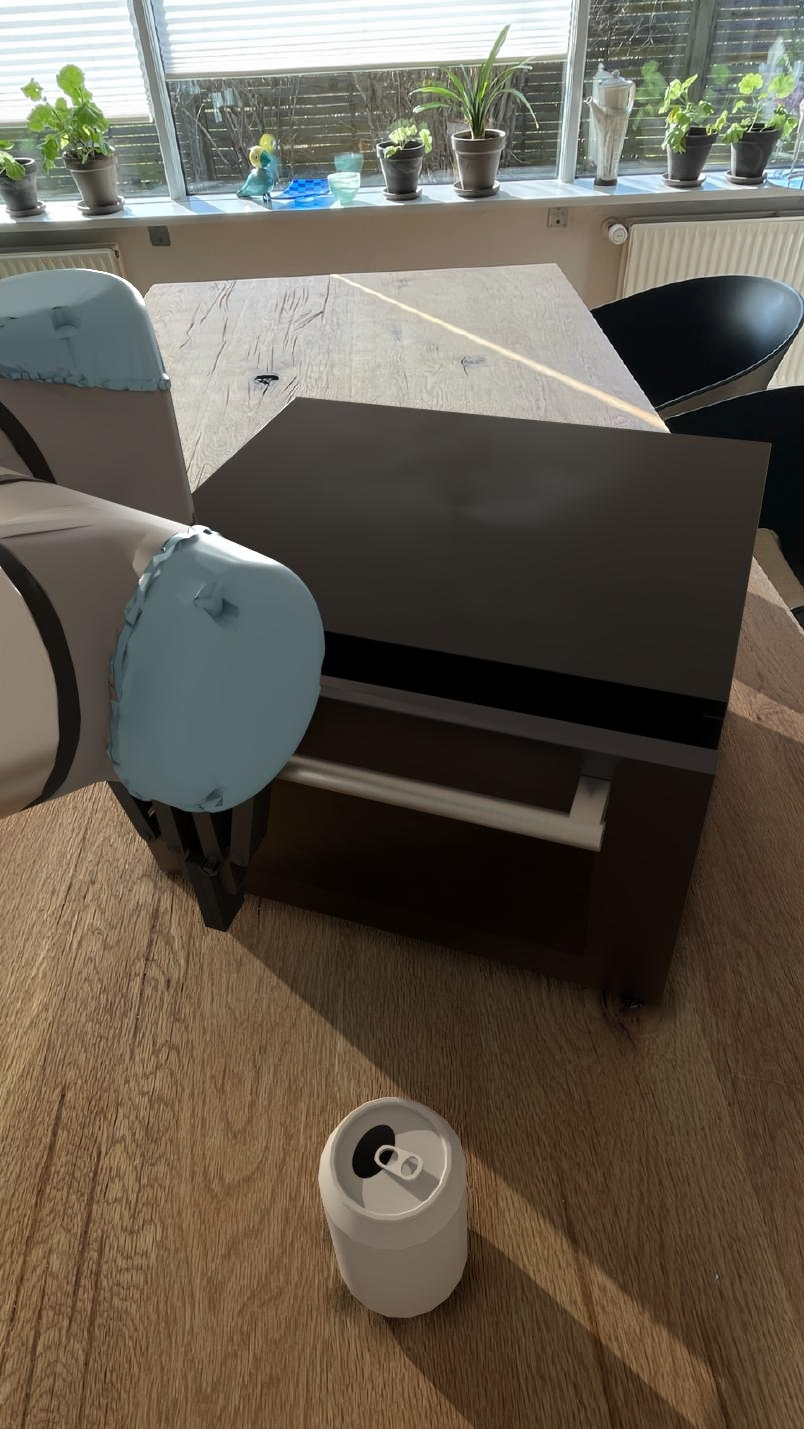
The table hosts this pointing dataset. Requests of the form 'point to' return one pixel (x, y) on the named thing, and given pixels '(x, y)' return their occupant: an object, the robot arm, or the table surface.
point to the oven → (509, 556)
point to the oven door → (488, 833)
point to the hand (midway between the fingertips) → (225, 913)
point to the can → (396, 1205)
